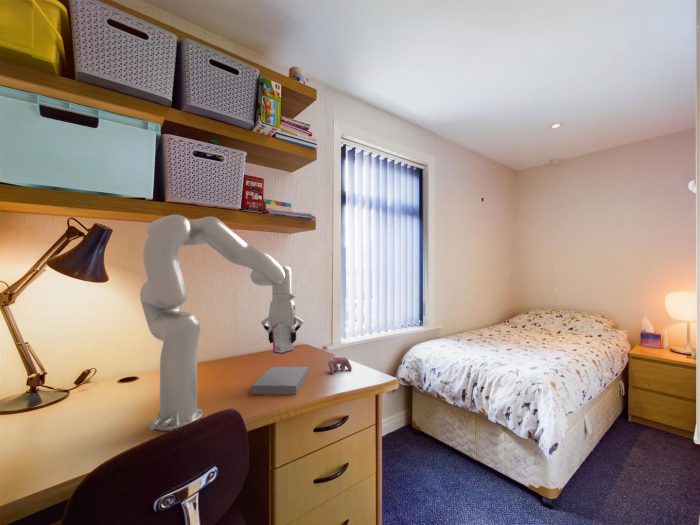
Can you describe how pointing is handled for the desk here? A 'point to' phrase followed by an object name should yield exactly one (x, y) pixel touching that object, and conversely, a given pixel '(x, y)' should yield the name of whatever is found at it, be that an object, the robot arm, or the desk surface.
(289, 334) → the supplement box
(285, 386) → the riser
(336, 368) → the pink toy elephant
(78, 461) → the desk surface
